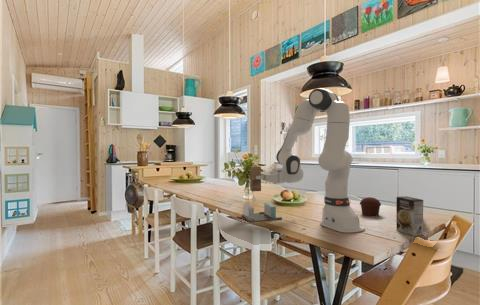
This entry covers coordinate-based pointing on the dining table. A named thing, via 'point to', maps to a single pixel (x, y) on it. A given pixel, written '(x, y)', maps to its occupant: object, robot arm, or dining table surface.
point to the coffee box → (410, 215)
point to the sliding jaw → (270, 210)
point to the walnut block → (254, 183)
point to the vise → (254, 214)
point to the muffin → (370, 206)
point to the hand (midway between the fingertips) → (254, 176)
